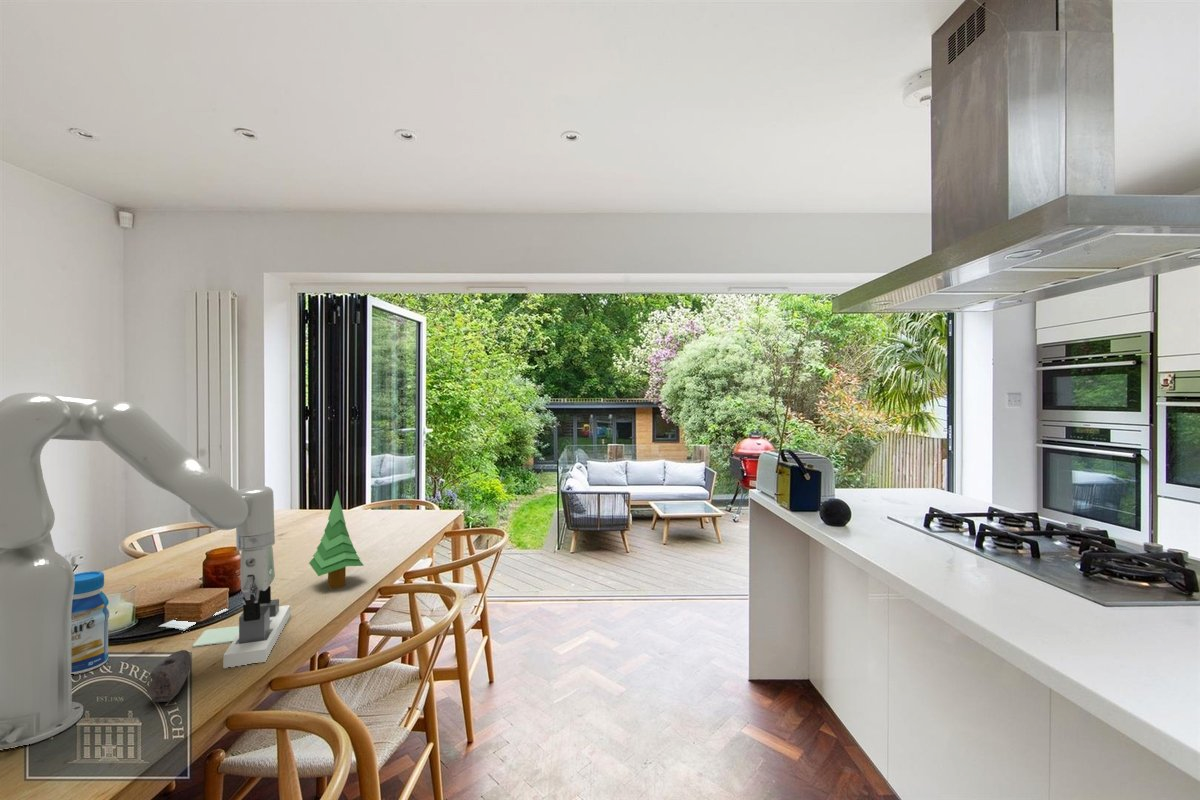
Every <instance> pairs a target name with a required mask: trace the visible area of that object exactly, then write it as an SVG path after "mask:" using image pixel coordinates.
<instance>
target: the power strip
mask: <svg viewBox="0 0 1200 800" xmlns="http://www.w3.org/2000/svg"><path fill="white" fill-rule="evenodd" d="M268 606H270V635H269V637H268V639H267V640H265V641H257V642H250V643H242V644H239V633H238V635H237V636H236V638H235V639H234V641H233V642H232V643H231V644H229V646H228V648H227V649H226V650H225V652H224V654H223V655H222V656H223V662H222V663H223V665H222V666H223V667H222V668H224V669H229V668H228V667H231V668H236V667H235V666H238V667H242V666H241V665H245V666H248V665H247V664H251V663H258V662H265V661H266V660H267V661H268V659H269V657H270V655H271V653H272V652H271V650H272V648H273V646H274V645H275V646H276V644H277V642H278V640H279V638H280V636H281V634H282V632H283V631H282V630H284V629H285V627H286V625H285V624H288V623H287V622H288V621H289V619H290V617H291V605H290V604H288V605H280V599H279V598H276V599H271V601H270V603H265V604H260V607H268ZM284 626H285V627H284ZM283 628H284V629H283ZM280 633H281V634H280ZM279 635H280V636H279ZM278 637H279V638H278ZM277 639H278V640H277ZM276 641H277V642H276ZM275 643H276V644H275ZM275 646H274V647H275ZM273 649H274V648H273ZM272 651H273V650H272ZM270 652H271V653H270ZM269 654H270V655H269ZM268 656H269V657H268ZM267 658H268V659H267ZM267 661H266V662H267Z"/></svg>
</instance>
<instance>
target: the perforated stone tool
mask: <svg viewBox="0 0 1200 800" xmlns="http://www.w3.org/2000/svg"><path fill="white" fill-rule="evenodd" d="M191 658H192V657H191V654H190V652H189V651H188V650H187V649H181V650H177V651H175V652H173V653H172V654H169V656H167V657H166V658H164V659H163V660H162V661H160V662H159V663H158V664H157V665H156V666H155V668H154V669H153V670H152V671H151V673H150V674H149V676H150V678H151V681H150V684H149V686H148V687H147V689H146V692H147V694H148V695H149V697H150V699H151V701H152V702H153V703H162V702H163V703H165V702H170V701H172V699H174V698H175V697H176V696H177V695H178V694H179V692H180V691H181V689H182V687H184V684H185V681H186V680H187V678H188V675H189V672H190V669H191V665H192V660H191Z"/></svg>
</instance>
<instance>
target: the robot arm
mask: <svg viewBox="0 0 1200 800" xmlns="http://www.w3.org/2000/svg"><path fill="white" fill-rule="evenodd" d="M50 440H62V441H63V440H64V441H82V442H83V441H85V442H86V441H87V442H88V441H89V442H94V441H96V442H102V443H103V444H104V445H106V446H107V447H108V448H109V449H110V451H112V452H114V453H115V454H116V455H118V456H119V457H120V458H121V459H122V460H123V461H125V462H126V463H127V464H128V465H130V466H131V467H132V468H133V469H134V471H136V472H137V473H138V474H140V475H141V476H142V477H143V478H144V479H145V480H147V481H149V482H150V483H152V484H153V485H155V486H157V487H158V488H161V489H163V490H165V491H167V492H169V493H171V494H173V495H174V496H176V497H178V498H179V499H181V500H182V501H183V502H185V503H186V504H187V505H189V506H190V507H189V512H190V515H191V517H192V519H194V520H195V521H196V522H198V523H200V524H201V525H204V526H207V527H211V528H213V529H217V530H219V531H231V530H233V529H235V535H236V536H235V537H236V550H237V551H240V589H241V592H242V593H243V597H242V599H243V600H242V611H243V612H242V613H243V620H244V621H245V622H246V621H253V620H259V619H260V617H261V616H260V604H265V603H270V601H271V600H272V597H271V596H272V595H271V593H272V592H271V584H272V583H273V581H274V580H275V575H276V573H275V559H274V551H273V550H274V549H273V546H274V545H275V543H276V539H275V504H274V490H273V489H272V488H271V487H269V486H266V485H259V486H258V485H256V486H248V487H244V488H241V489H235V488H234V487H233V486H231V485H230V484H229V483H228V482H227V481H226V480H225V479H224V478H222V477H221V476H220V475H219V474H217V473H216V472H215V471H213V469H211V468H210V467H208V466H207V465H206V464H204V463H203V462H202V461H201V460H200V459H199V458H197V457H196V456H195V455H193V454H192V453H191V452H189V451H188V450H187V449H186V448H185V447H184V446H183V445H182V444H181V443H180V442H178V441H177V440H176V439H175V438H174V437H173V436H171V434H170V433H168V431H166V430H165V428H163V427H162V426H161V425H160V424H159V423H158V422H157V421H156V420H155V419H153V417H152V416H150V415H149V414H148V413H147V412H146V411H145V410H144V409H143V408H141V407H140V406H139V405H137V404H135V403H134V402H129V401H125V400H110V399H109V400H108V399H107V400H106V399H90V398H80V397H78V398H77V397H71V396H70V397H69V396H58V395H52V394H49V393H44V392H22V393H16V394H12V395H10V396H7V397H5V398H4V399H1V401H0V749H5V748H11V747H15V746H21V745H27V746H29V744H30V745H32V744H36V743H39V742H42V741H43V740H47V739H49V738H51V737H53V736H56V735H58V734H60V733H62V732H64V731H66V730H67V729H69V728H70V727H72V726H73V725H74V724H76V723H77V722H79V720H80V719H81V718H82V717H83V714H84V705H83V704H81V703H80V702H76V701H72V699H73V698H72V694H73V693H72V675H71V611H72V600H73V593H74V585H75V577H74V574H75V572H74V568H73V567H72V565H71V563H70V562H69V561H68V560H67V559H66V558H65V557H64V556H63V555H61V554H60V553H58V552H57V551H56V550H55V545H54V542H53V539H52V535H51V531H52V530H53V528H54V524H55V511H54V509H53V505H52V504H51V501H50V498H49V494H48V491H47V487H46V483H45V480H44V474H43V468H42V463H41V454H42V451H43V449H44V447H45V445H47V443H48V442H49V441H50Z"/></svg>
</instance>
